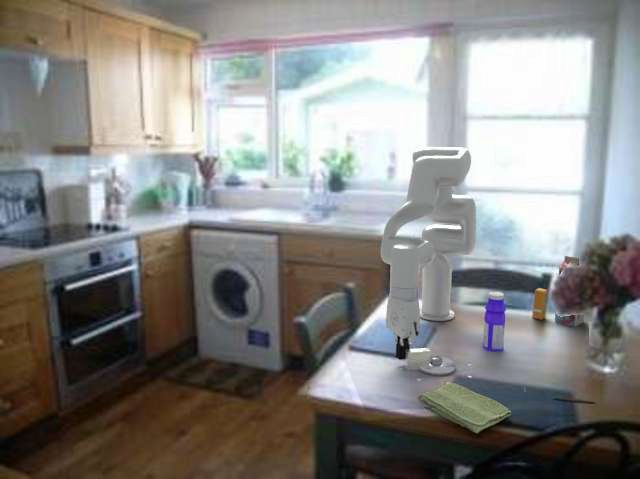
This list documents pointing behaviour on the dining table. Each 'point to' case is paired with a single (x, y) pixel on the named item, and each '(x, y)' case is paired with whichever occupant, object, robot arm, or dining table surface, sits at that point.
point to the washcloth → (465, 407)
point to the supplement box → (539, 303)
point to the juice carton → (572, 319)
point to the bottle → (494, 322)
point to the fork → (572, 399)
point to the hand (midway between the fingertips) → (402, 357)
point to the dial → (428, 362)
